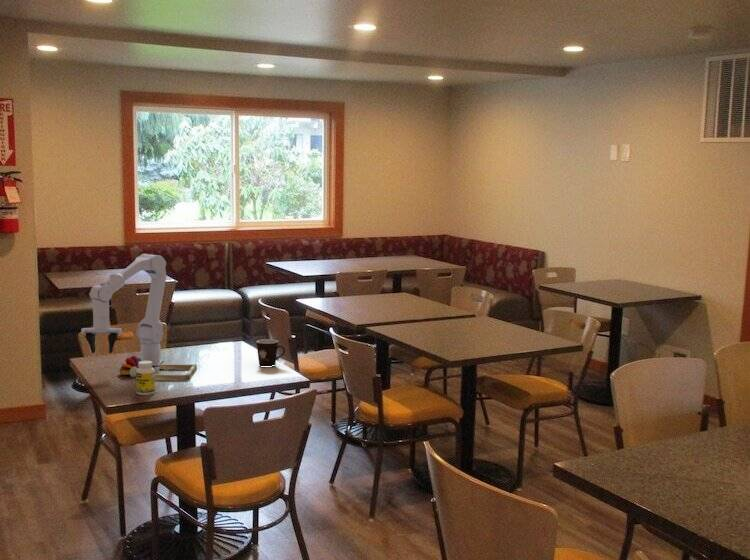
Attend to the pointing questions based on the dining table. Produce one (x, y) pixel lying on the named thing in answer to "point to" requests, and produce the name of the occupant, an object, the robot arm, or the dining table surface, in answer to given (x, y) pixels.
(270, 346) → the coffee mug
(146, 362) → the pill bottle
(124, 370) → the red and white piece
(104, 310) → the robot arm
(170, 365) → the beige wooden tray
